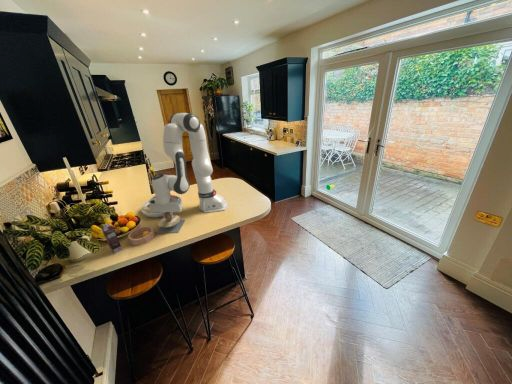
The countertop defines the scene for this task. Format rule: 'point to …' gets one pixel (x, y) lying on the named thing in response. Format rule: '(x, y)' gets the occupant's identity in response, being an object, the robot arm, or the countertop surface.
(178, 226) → the mat
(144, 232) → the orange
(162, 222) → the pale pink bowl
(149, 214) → the bowl
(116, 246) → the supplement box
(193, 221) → the countertop surface
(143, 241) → the bowl
